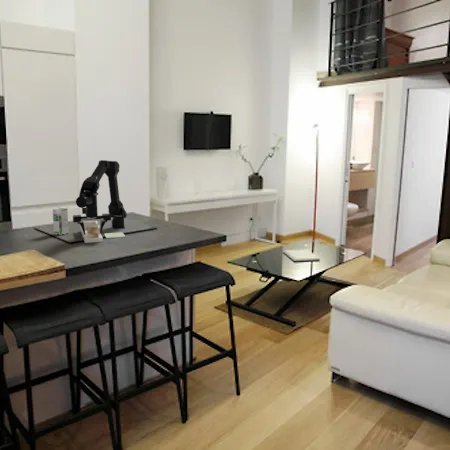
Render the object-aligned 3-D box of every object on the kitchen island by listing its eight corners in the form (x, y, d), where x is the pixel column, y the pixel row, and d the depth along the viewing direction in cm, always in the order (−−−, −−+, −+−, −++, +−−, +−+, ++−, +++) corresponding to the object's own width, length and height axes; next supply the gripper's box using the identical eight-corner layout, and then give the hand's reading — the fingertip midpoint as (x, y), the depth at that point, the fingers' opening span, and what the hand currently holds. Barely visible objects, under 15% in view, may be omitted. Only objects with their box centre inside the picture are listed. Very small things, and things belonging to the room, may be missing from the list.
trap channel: (97, 230, 266) (96, 220, 264) (102, 241, 241) (102, 231, 240) (80, 231, 262) (80, 221, 261) (84, 242, 238) (84, 232, 237)
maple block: (97, 235, 246) (97, 225, 245) (98, 237, 242) (98, 227, 241) (87, 235, 245) (87, 226, 243) (88, 237, 240) (88, 228, 239)
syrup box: (53, 234, 255) (51, 208, 252) (61, 232, 260) (60, 206, 257) (60, 235, 252) (59, 209, 249) (69, 233, 257) (67, 207, 254)
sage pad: (122, 233, 260) (122, 232, 260) (125, 237, 251) (125, 236, 251) (104, 234, 256) (104, 233, 256) (106, 238, 247) (106, 237, 247)
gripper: (107, 201, 251) (108, 229, 254) (71, 202, 244) (73, 231, 248) (110, 204, 241) (111, 234, 244) (72, 206, 234) (74, 236, 238)
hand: (92, 234), depth 244 cm, fingers open, 8 cm apart
